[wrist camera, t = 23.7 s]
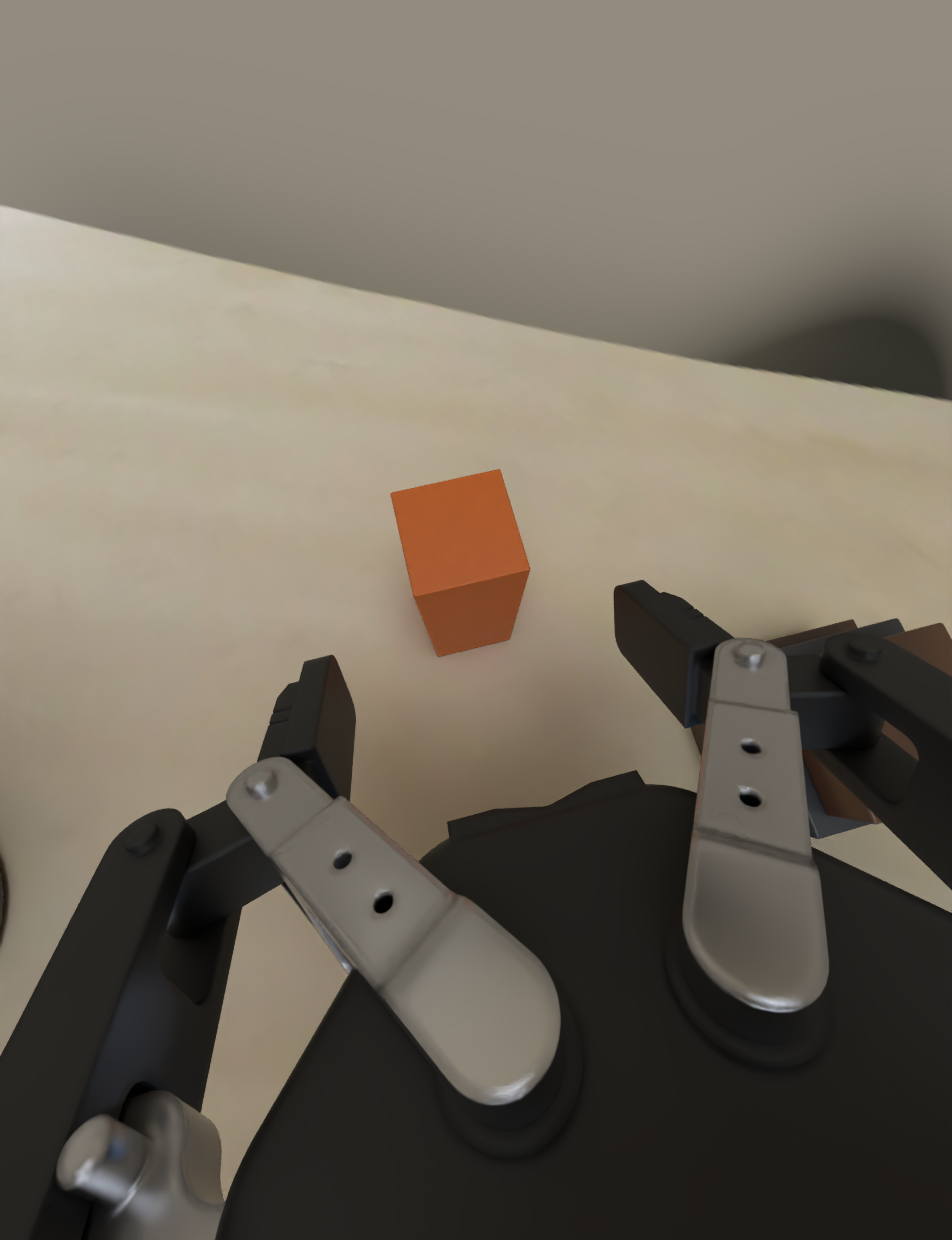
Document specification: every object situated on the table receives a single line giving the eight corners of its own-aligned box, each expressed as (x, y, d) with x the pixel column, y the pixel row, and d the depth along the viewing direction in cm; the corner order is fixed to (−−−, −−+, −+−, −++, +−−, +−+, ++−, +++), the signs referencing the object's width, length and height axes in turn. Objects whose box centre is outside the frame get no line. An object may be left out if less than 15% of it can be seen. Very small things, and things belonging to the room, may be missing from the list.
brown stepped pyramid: (730, 835, 20) (858, 877, 13) (669, 670, 22) (753, 634, 15) (887, 790, 21) (1086, 809, 14) (813, 632, 23) (956, 582, 16)
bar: (438, 657, 22) (413, 597, 14) (422, 588, 23) (389, 492, 15) (510, 639, 23) (530, 569, 14) (491, 572, 24) (500, 468, 15)
